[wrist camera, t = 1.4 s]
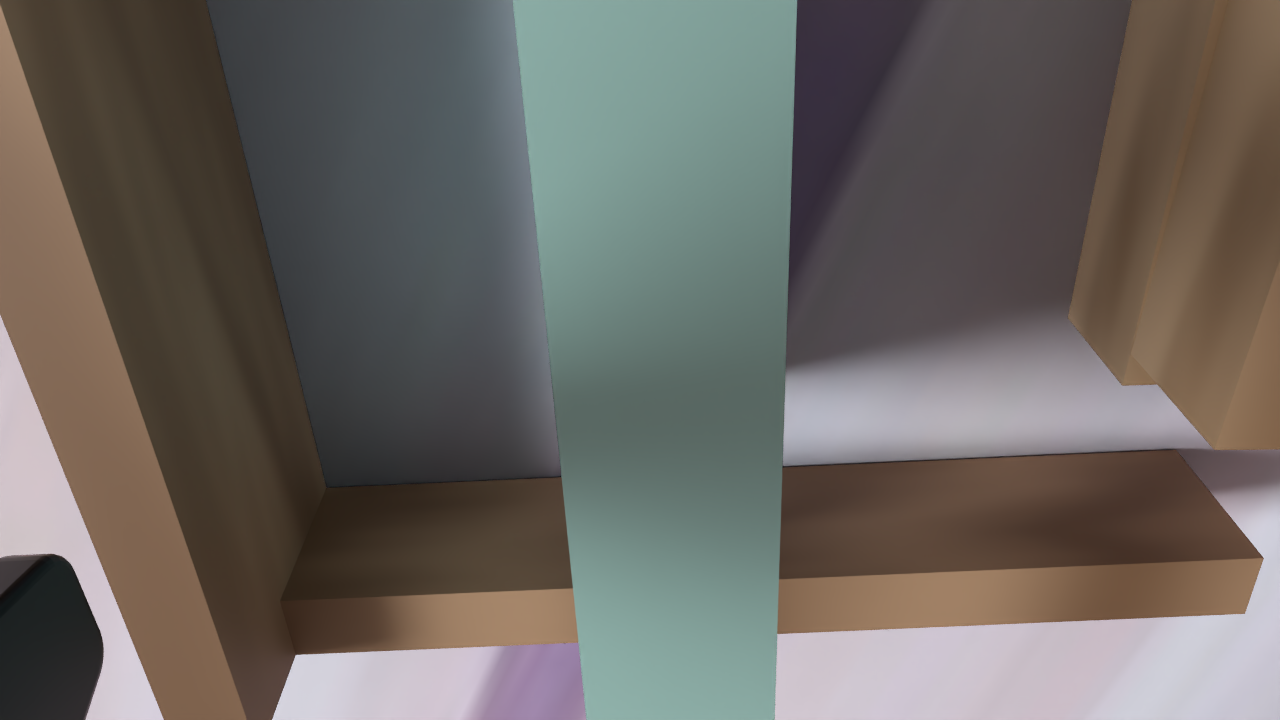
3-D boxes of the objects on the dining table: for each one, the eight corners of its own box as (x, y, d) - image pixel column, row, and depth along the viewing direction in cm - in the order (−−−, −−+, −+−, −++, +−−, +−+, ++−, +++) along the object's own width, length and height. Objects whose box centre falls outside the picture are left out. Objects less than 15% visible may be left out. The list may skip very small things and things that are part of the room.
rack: (1438, -535, 12) (1903, -706, 8) (1162, 501, 20) (1315, 709, 15) (-10, -458, 12) (-362, -582, 8) (276, 540, 20) (179, 758, 15)
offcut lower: (1436, -145, 14) (1581, -128, 12) (1291, 302, 18) (1383, 376, 16) (1149, -134, 14) (1244, -117, 12) (1061, 310, 18) (1122, 385, 16)
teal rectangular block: (711, -196, 14) (803, -157, 7) (716, 380, 18) (772, 758, 11) (562, -188, 14) (497, -142, 7) (603, 385, 18) (591, 766, 11)
